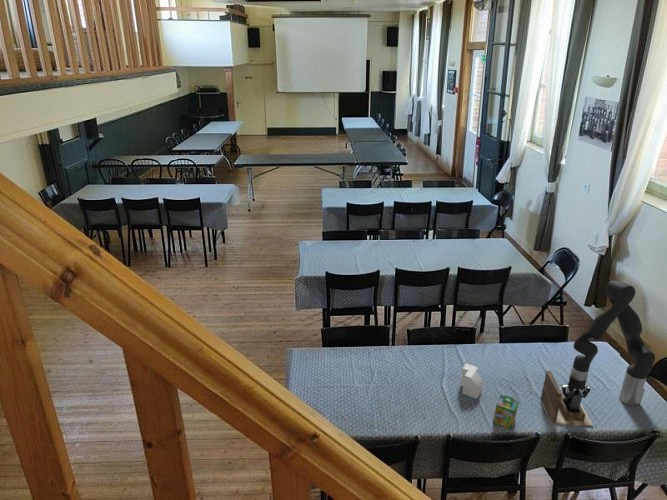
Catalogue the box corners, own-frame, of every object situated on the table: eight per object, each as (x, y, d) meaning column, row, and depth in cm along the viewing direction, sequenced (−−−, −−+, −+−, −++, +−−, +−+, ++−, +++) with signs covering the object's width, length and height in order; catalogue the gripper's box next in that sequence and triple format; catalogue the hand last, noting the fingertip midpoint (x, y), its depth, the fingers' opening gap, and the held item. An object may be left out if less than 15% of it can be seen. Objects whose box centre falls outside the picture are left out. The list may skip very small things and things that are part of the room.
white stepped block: (463, 380, 273) (466, 363, 269) (483, 388, 267) (486, 370, 263) (456, 391, 265) (458, 373, 261) (476, 399, 259) (479, 381, 255)
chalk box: (492, 423, 243) (496, 399, 237) (497, 412, 250) (501, 389, 244) (511, 430, 239) (515, 406, 233) (515, 419, 246) (520, 395, 240)
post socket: (579, 402, 257) (586, 372, 250) (592, 426, 241) (601, 396, 233) (540, 399, 259) (546, 370, 252) (551, 424, 242) (558, 393, 235)
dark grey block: (571, 404, 252) (576, 385, 248) (577, 415, 245) (582, 396, 240) (563, 403, 253) (568, 385, 248) (569, 414, 245) (574, 395, 241)
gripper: (590, 371, 243) (583, 398, 250) (561, 369, 244) (555, 397, 251) (596, 381, 236) (589, 408, 243) (566, 379, 238) (560, 407, 244)
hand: (572, 402), depth 247 cm, fingers closed on dark grey block, 4 cm apart
